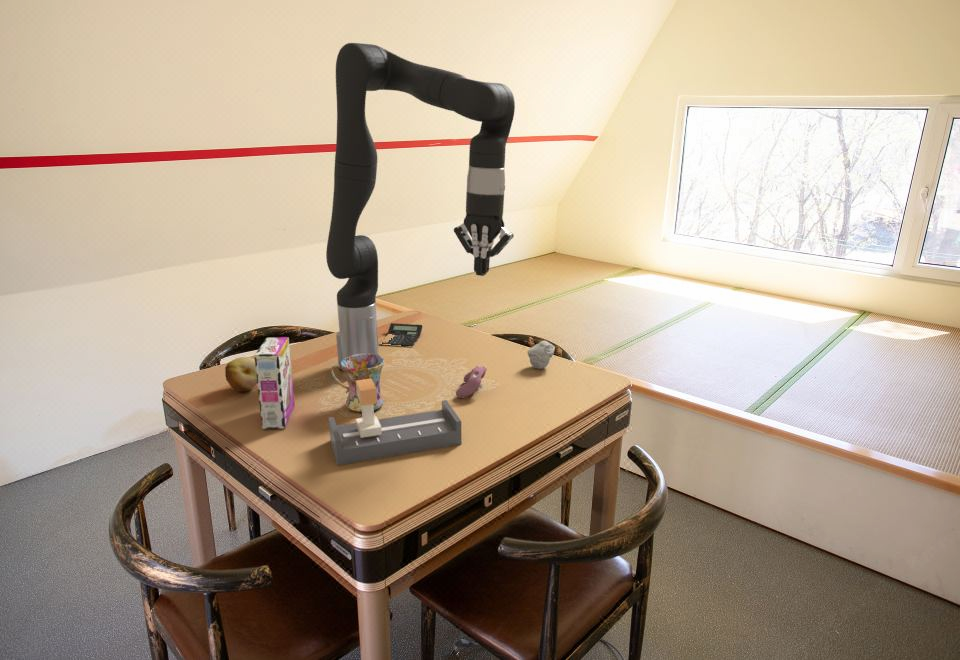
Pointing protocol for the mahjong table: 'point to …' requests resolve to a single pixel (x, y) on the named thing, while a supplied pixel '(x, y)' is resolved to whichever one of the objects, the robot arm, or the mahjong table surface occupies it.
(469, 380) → the pink toy animal figure
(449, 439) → the fader console
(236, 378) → the fruit
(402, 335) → the calculator
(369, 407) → the fader knob
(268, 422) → the candy bar box
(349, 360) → the mug
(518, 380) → the mahjong table surface
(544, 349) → the grey lumpy stone
